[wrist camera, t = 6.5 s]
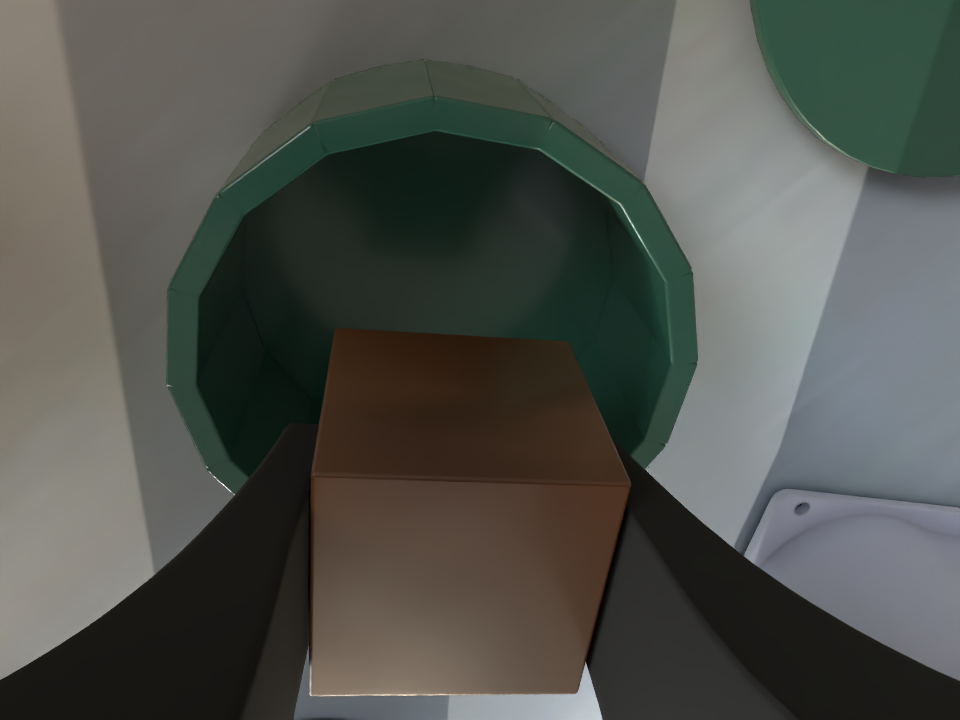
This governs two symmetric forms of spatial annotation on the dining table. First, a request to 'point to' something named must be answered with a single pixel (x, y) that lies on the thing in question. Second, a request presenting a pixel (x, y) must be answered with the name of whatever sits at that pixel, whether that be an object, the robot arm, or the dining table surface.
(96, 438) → the dining table surface
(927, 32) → the tin lid
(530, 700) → the dining table surface
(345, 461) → the block
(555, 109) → the tin
